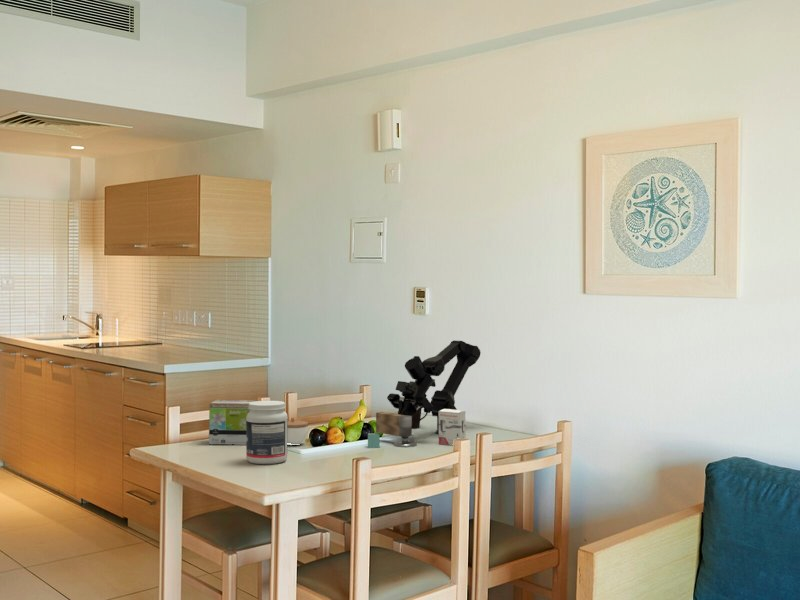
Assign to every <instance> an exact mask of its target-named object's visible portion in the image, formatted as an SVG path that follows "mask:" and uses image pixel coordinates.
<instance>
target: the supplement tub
mask: <svg viewBox="0 0 800 600" xmlns="http://www.w3.org/2000/svg"><path fill="white" fill-rule="evenodd" d="M286 408H287V407H286V402H284V401H281V400H257V401H255V402H250V403H249V408H248V409H249V410H250V412H249V413H248V414H247V416H246V445H245V446H246V451H245V452H246V460H247V461H248V462H249V463H251V464H254V465H256V464H257V465H275V464H281V463H283V462H285V461H286V460H287V459H288V457H289V455H288V446H287V443H288V440H287V437H288V421H289V420H288V413H287V412H286V411H285V409H286Z"/></svg>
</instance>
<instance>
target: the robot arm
mask: <svg viewBox="0 0 800 600" xmlns="http://www.w3.org/2000/svg"><path fill="white" fill-rule="evenodd" d="M455 357H456V360H457V361H456V363H455V365H454V368H453V369H452V371H451V373H450V375H449V376H448V379H447V381H446V382H445V384H444V386H443V387H442V389H441V390H435V391H434V393H433V395H432V397H431V400H430V401H429V399H428V398H427V396H428V395H427V394H426V393H427V392H428V390H429V389H430V387H436V386H437V385H436V379H434V378H433V377H439V376H441V375H442V373H443V372H444V371H445V368H446V365H447V364H449V362H451V361H452V360H453V359H454V358H455ZM480 357H481V350H480V348H479V347H478V346H477V345H473V344H471V343H466V342H465V341H463V340H451V342H450V343H449V344H448V345H446V347H444V349H441V351H440V352H438V353H437V354H436V355H434V356H431V357H428V358H426V359H424V360H423V361H422V360H421V357H420V356H419V355H414V356H413V357H412V358H410V359H409V360H407V361H405V364H404V368H405V370H406V371H407V373H408V374H409V376H410V378H412V381H411V380H410V381H409V382H407V381H400V380H398V381H397V384H396V387H395V391H399V392H400V393H401V395H400V394H399V393H393V392H391V393H389V394H388V395H387V397H386V399H387V401H388V402H389V403H390V404H391V406H393V408H395V409H397V411H398V412H397V414H399V415H408V416H411V415H413V414H415V413H418V411H417V410H418V409H419V408H420V407H425V408H422V410H423V412H424V413H425V414H426V413H428V414H430V413H431V415H432V417H436V425H437V427H436V431H435V434H437V435H439V411H440V410H442V409H454V410H458V408H457V407H456V406H455V404H456V400H455V395H456V393H457V391H458V389H459V388H460V385H461V383H462V381H463V379H464V378H465V375H466V374H467V372H468V370H469V368H470V367H472V366H474V365H475V364H476V363H477V362H478V360H479V359H480ZM413 380H414V381H413Z"/></svg>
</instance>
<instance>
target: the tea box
mask: <svg viewBox="0 0 800 600" xmlns="http://www.w3.org/2000/svg"><path fill="white" fill-rule="evenodd" d="M255 401H256V400H255V399H254V400H252V399H251V400H248V399H247V400H246V399H214V400H213V401H212V402H210V403H209V409H208V411H209V417H208V444H211V445H232V444H234V445H237V446H238V445H239V446H246V416H247V414H248V413H249V412H250V410H249V409H248V408H249V403H250V402H255Z"/></svg>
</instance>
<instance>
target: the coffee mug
mask: <svg viewBox="0 0 800 600" xmlns="http://www.w3.org/2000/svg"><path fill="white" fill-rule="evenodd" d="M424 408H425V407H420V408H419V409H418V410H417V411H418V413H415V414H413V415H411V416H412V430H416V429H419V428H420V427H421V421H422V420H423V419H425V418H426V416H428V414H429V413H425V414H424V415H423V416H422V410H423V409H424ZM421 416H422V417H421Z"/></svg>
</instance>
